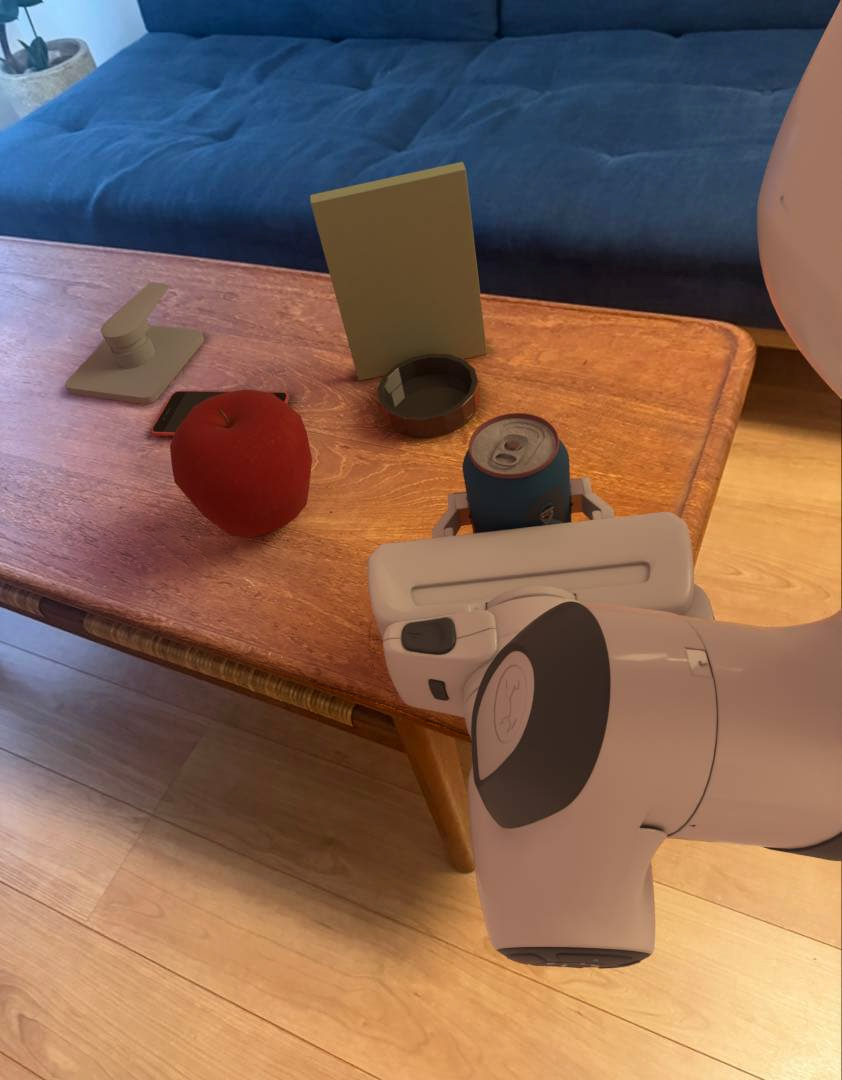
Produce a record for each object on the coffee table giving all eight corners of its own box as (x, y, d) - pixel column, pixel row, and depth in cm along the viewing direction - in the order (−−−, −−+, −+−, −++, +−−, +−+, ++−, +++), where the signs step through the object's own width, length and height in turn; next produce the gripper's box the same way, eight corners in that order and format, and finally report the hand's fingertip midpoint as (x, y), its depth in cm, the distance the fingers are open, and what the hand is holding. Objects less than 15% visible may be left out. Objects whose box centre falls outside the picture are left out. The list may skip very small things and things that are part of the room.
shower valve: (202, 284, 95) (131, 365, 86) (218, 324, 99) (152, 405, 90) (116, 278, 99) (41, 354, 90) (135, 316, 103) (65, 393, 94)
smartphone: (270, 436, 83) (147, 433, 86) (271, 440, 83) (149, 437, 87) (290, 391, 87) (173, 389, 90) (292, 395, 87) (175, 393, 91)
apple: (253, 587, 71) (198, 480, 61) (183, 524, 77) (122, 418, 67) (356, 506, 75) (320, 394, 65) (281, 453, 82) (238, 344, 72)
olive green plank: (484, 345, 88) (462, 161, 73) (487, 354, 87) (465, 169, 72) (357, 372, 88) (309, 194, 73) (358, 381, 87) (310, 203, 72)
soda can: (500, 516, 64) (485, 398, 55) (586, 538, 61) (584, 417, 52) (463, 583, 60) (440, 467, 51) (552, 610, 57) (544, 492, 48)
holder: (470, 364, 86) (468, 345, 84) (488, 426, 80) (485, 406, 78) (378, 384, 86) (373, 365, 85) (387, 447, 80) (382, 428, 78)
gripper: (729, 613, 44) (674, 438, 53) (355, 650, 46) (364, 477, 55) (716, 675, 48) (668, 504, 57) (378, 705, 51) (383, 537, 60)
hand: (517, 491), depth 56 cm, fingers closed on soda can, 7 cm apart
